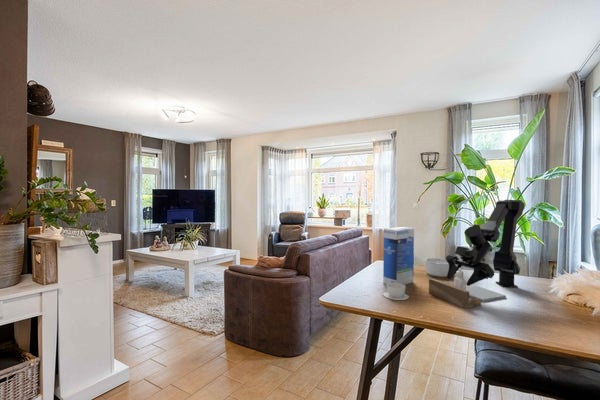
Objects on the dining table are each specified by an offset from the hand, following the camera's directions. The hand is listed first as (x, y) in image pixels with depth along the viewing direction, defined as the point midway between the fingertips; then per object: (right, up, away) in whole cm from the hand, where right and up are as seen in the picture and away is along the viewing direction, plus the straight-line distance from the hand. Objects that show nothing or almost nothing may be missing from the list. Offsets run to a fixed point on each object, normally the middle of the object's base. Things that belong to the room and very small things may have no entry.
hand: (457, 281), depth 118 cm
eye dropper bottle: (+1, -7, +1) cm, 7 cm away
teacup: (-24, -7, +3) cm, 25 cm away
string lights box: (-17, -6, +20) cm, 27 cm away
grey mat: (+12, -7, +4) cm, 14 cm away
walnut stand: (-2, -7, 0) cm, 7 cm away
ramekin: (+9, -6, +36) cm, 37 cm away
